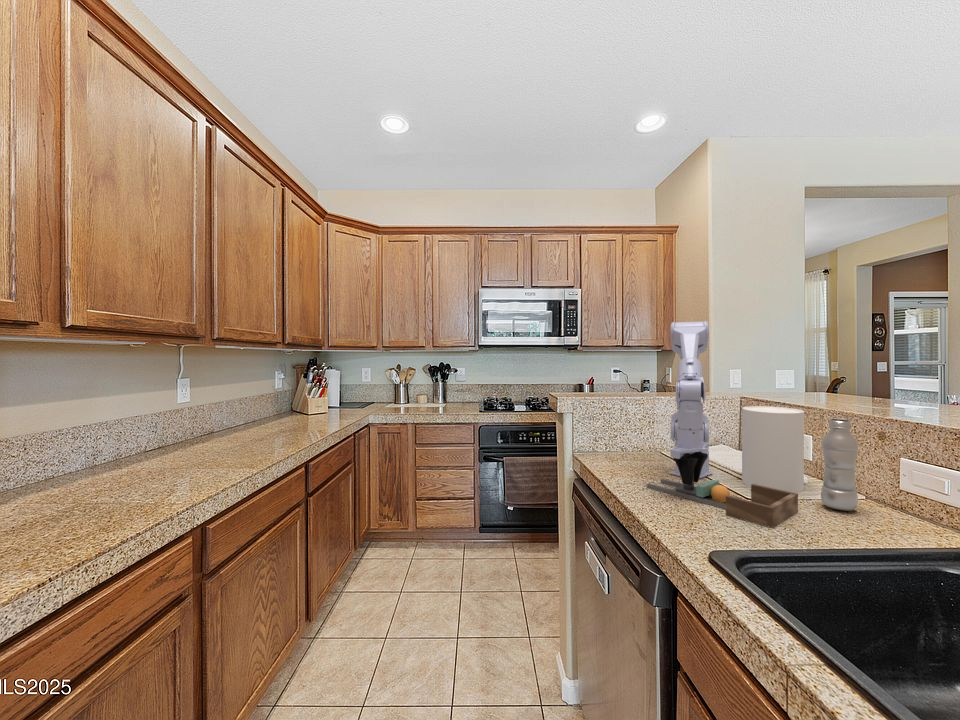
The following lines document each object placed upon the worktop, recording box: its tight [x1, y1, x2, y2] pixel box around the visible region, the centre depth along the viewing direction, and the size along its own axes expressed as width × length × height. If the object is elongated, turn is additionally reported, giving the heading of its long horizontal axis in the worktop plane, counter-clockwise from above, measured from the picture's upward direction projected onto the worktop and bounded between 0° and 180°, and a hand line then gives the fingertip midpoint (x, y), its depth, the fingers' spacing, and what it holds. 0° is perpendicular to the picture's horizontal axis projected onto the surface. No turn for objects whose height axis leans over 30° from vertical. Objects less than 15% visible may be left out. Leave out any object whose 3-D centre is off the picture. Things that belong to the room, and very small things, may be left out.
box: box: [725, 484, 799, 528], centre depth 95 cm, size 14×9×4 cm, turn 127°
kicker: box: [675, 475, 720, 498], centre depth 106 cm, size 8×8×7 cm
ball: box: [711, 484, 731, 503], centre depth 102 cm, size 4×4×4 cm
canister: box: [741, 405, 805, 494], centre depth 114 cm, size 14×14×20 cm
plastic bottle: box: [820, 418, 859, 512], centre depth 96 cm, size 6×7×20 cm
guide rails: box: [646, 478, 743, 510], centre depth 107 cm, size 7×20×1 cm, turn 37°
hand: (690, 482), depth 107 cm, fingers open, 2 cm apart
